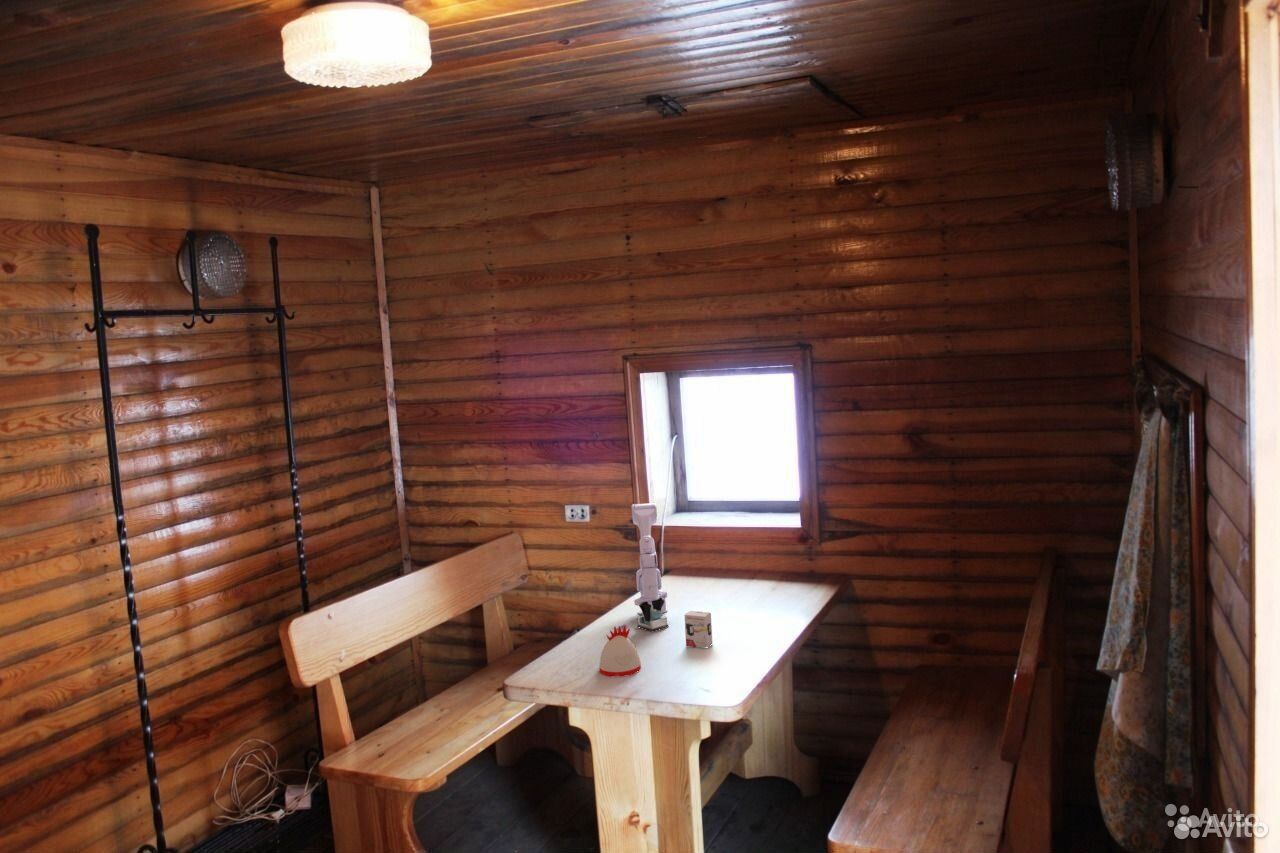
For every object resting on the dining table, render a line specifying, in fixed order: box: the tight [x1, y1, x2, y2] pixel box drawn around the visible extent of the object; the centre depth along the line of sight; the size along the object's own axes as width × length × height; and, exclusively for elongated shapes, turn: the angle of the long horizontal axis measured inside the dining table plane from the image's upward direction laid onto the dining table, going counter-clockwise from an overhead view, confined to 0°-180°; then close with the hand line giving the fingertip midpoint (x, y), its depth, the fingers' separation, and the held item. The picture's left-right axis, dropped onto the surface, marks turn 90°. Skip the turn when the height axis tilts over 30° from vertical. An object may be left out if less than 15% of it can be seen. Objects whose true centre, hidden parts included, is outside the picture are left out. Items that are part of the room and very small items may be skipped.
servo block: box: [640, 608, 664, 624], centre depth 387 cm, size 4×8×6 cm, turn 39°
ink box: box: [684, 610, 713, 648], centre depth 361 cm, size 9×5×12 cm, turn 62°
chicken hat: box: [598, 624, 642, 677], centre depth 341 cm, size 14×14×15 cm
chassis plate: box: [636, 615, 669, 632], centre depth 387 cm, size 8×9×4 cm
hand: (652, 619), depth 387 cm, fingers closed on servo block, 4 cm apart
